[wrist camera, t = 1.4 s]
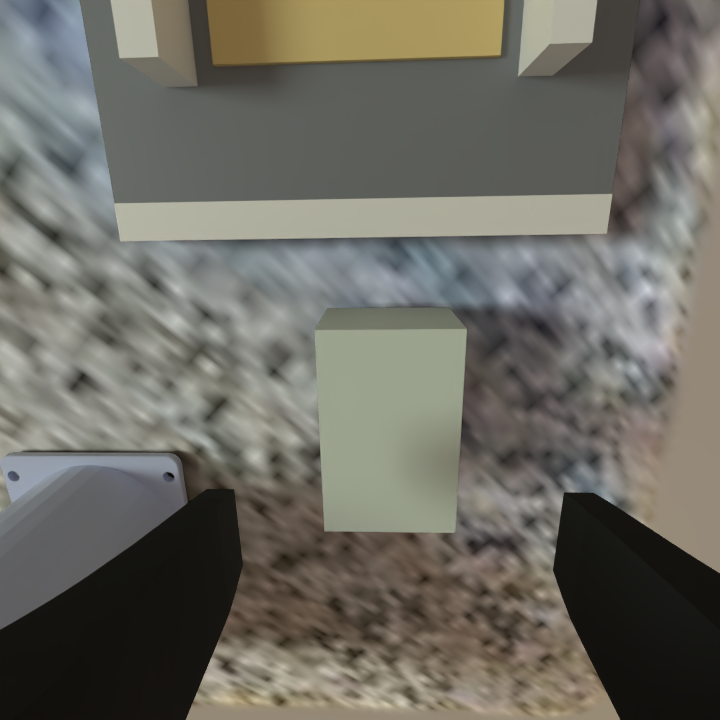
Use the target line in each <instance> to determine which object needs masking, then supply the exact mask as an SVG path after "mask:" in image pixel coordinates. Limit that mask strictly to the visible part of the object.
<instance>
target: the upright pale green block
mask: <svg viewBox="0 0 720 720" xmlns="http://www.w3.org/2000/svg"><path fill="white" fill-rule="evenodd" d="M466 337H467V328H466V327H465V326H464V325H463V324H462V322H461V321H460V320H459V319H458V318H457V316H456V315H455V314H454V313H453V312H452V310H451V309H450V308H449V307H419V308H327V310H326V312H325V313H324V315H323V317H322V318H321V320H320V322H319V324H318V325H317V327H316V329H315V347H316V368H317V388H318V409H319V430H320V451H321V472H322V493H323V513H324V531H341V532H422V533H455V528H456V510H457V493H458V476H459V458H460V441H461V424H462V406H463V389H464V372H465V355H466Z"/></svg>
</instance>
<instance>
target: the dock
mask: <svg viewBox="0 0 720 720" xmlns="http://www.w3.org/2000/svg"><path fill="white" fill-rule="evenodd" d="M639 3H640V0H80V4H81V10H82V16H83V22H84V28H85V34H86V39H87V45H88V51H89V57H90V63H91V68H92V74H93V80H94V86H95V92H96V98H97V103H98V109H99V115H100V121H101V127H102V132H103V138H104V144H105V150H106V156H107V162H108V167H109V173H110V179H111V185H112V191H113V196H114V202H115V203H114V206H115V212H116V218H117V224H118V229H119V235H120V241H168V240H233V239H298V238H363V237H427V236H492V235H557V234H607V228H608V221H609V215H610V208H611V201H612V190H613V183H614V176H615V169H616V162H617V155H618V148H619V141H620V134H621V127H622V121H623V114H624V107H625V100H626V93H627V86H628V79H629V72H630V65H631V58H632V52H633V45H634V38H635V31H636V24H637V17H638V10H639Z"/></svg>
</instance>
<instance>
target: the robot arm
mask: <svg viewBox="0 0 720 720" xmlns="http://www.w3.org/2000/svg"><path fill="white" fill-rule="evenodd" d="M0 465H1V469H2V472H3V476H4V479H5V482H6V486H7V489H8V493H9V496H10V499H11V504H10V505H9V506H8V507H6V508H5V509H4V510H2V511H1V512H0V720H186V717H187V715H188V713H189V710H190V708H191V705H192V703H193V700H194V698H195V696H196V693H197V691H198V688H199V686H200V683H201V681H202V679H203V676H204V674H205V671H206V669H207V667H208V664H209V662H210V659H211V657H212V654H213V652H214V650H215V647H216V645H217V642H218V640H219V637H220V635H221V632H222V630H223V627H224V625H225V622H226V620H227V617H228V615H229V612H230V609H231V606H232V602H233V599H234V596H235V592H236V589H237V585H238V581H239V577H240V574H241V570H242V566H243V562H242V554H241V545H240V537H239V528H238V520H237V511H236V503H235V494H234V489H207V490H205V491H204V492H202V493H201V494H199V495H198V496H197V497H195V498H194V499H192V500H191V501H190V502H188V500H187V494H186V487H185V481H184V474H183V468H182V462H181V460H180V458H179V457H178V456H176V455H175V454H172V453H75V452H12V453H9V454H8V455H6V456H4V457H3V458H2V459H1V461H0ZM15 472H16V473H18V475H19V476H18V475H17V474H16V473H15ZM167 472H170V473H172V474H173V475H174V477H175V478H172V477H170V476H169V475H168V474H167ZM553 571H554V574H555V577H556V580H557V583H558V586H559V589H560V592H561V595H562V598H563V600H564V603H565V606H566V608H567V611H568V614H569V616H570V619H571V621H572V623H573V625H574V627H575V629H576V631H577V633H578V635H579V638H580V640H581V642H582V644H583V646H584V648H585V650H586V652H587V654H588V656H589V658H590V660H591V662H592V664H593V666H594V668H595V670H596V672H597V674H598V676H599V678H600V680H601V682H602V684H603V686H604V688H605V690H606V692H607V694H608V696H609V698H610V700H611V702H612V704H613V706H614V708H615V710H616V712H617V714H618V716H619V717H620V720H720V573H718V572H717V571H715V570H713V569H712V568H710V567H709V566H707V565H705V564H704V563H702V562H701V561H699V560H697V559H696V558H694V557H692V556H691V555H689V554H688V553H686V552H685V551H683V550H682V549H680V548H679V547H677V546H676V545H674V544H672V543H671V542H669V541H668V540H666V539H665V538H663V537H662V536H660V535H659V534H657V533H656V532H654V531H653V530H651V529H650V528H648V527H647V526H645V525H644V524H642V523H640V522H639V521H637V520H636V519H634V518H633V517H631V516H630V515H628V514H627V513H625V512H624V511H622V510H621V509H619V508H618V507H616V506H614V505H613V504H611V503H610V502H608V501H606V500H605V499H603V498H601V497H600V496H598V495H596V494H594V493H564V497H563V504H562V511H561V518H560V525H559V532H558V539H557V546H556V553H555V560H554V567H553Z"/></svg>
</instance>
